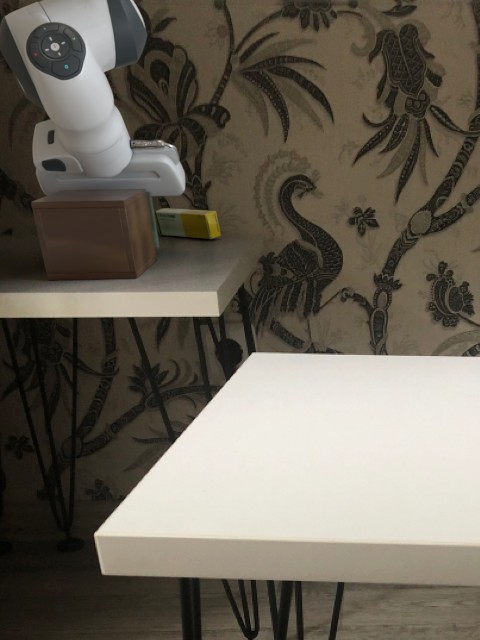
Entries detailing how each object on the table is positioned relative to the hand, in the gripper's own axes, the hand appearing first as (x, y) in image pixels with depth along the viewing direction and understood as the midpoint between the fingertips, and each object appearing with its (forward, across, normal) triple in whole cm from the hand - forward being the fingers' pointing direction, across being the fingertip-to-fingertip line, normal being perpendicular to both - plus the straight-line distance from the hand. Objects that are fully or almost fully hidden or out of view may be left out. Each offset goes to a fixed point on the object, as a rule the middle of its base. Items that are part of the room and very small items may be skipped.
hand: (126, 209), depth 139 cm
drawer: (-2, 0, +9) cm, 9 cm away
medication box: (+12, -7, -3) cm, 14 cm away
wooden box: (-8, 0, +16) cm, 18 cm away
